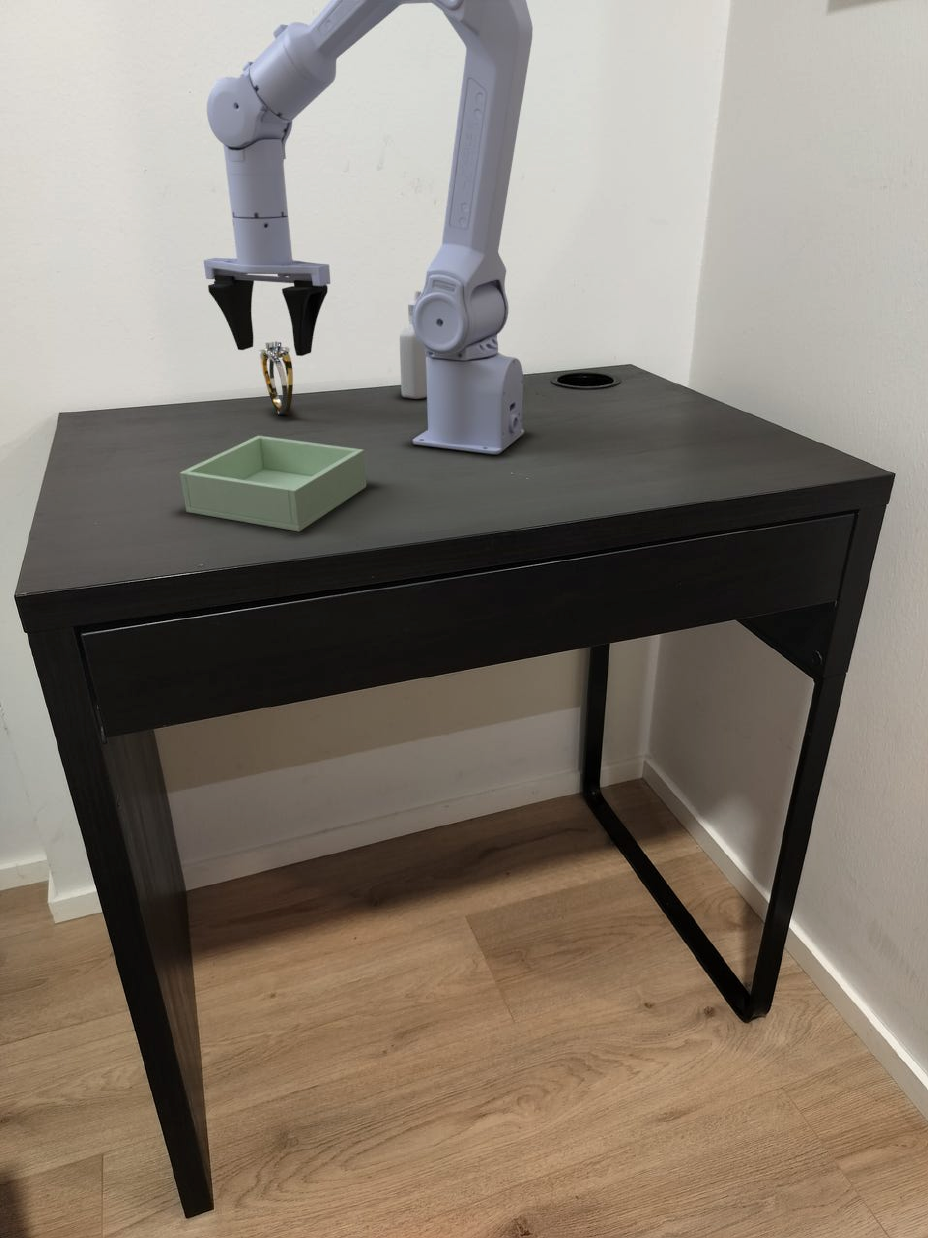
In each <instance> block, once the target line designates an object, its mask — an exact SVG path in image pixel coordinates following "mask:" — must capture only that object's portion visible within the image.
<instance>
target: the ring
mask: <svg viewBox="0 0 928 1238" xmlns="http://www.w3.org/2000/svg"><path fill="white" fill-rule="evenodd" d="M264 345H265V348H260V349H258V350H259V352H260V353H259V360H260V366H261V370H262V374H263V378H264V382H265V385H266V389H267V391H268V395H269V398H270V400H271V403H272V405H273V407H274V410H275V411H276V415H278V416H281V415H286V414H287V413H289V412H290V409H291V405H292V401H293V400H292V399H293V391H294V390H293V386H294V384H293V383H294V373H293V363H292V359H291V355H290V350H291V349H290V347H288V346H282V342H281V341H271V342H265V344H264ZM281 360H282V361H281ZM282 362H283V363H282ZM274 365H275V366H274ZM274 367H276V369H277V372H278V375H279V378H280V384H281V393H282V398H281V399H282V400H281V399H280V397H279V394H278V391H277V386H276V381H275V371H274V370H275V369H274ZM284 368H285V369H284ZM285 371H286V373H285Z"/></svg>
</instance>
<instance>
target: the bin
mask: <svg viewBox="0 0 928 1238" xmlns="http://www.w3.org/2000/svg"><path fill="white" fill-rule="evenodd" d="M179 477H180V482H181V483H180V484H181V488H182V495H183V500H184V506H185V512H186V513H190V514H196V515H201V516H208V517H212V518H218V519H225V520H230V521H236V522H242V523H247V524H253V525H259V526H263V527H264V526H265V527H271V528H276V529H281V530H288V531H293V532H301V531H302V530H304V529H306V528H307V527H308V526H310V525H311V524H313V523H314V522H316V521H317V520H320V519H321V518H322V517H324V516H325V515H326V514H328V513H329V512H331V511H333V510H334V509H335V508H337V507H339V506H340V505H342V504H343V503H344V502H346V501H347V500H349V499H350V498H352V497H353V496H355V495H356V494H358V493H359V492H361V491H363V490H364V489H365V488H367V478H366V477H367V475H366V460H365V450H364V449H362V448H355V447H347V446H339V445H331V444H323V443H317V442H310V441H309V442H308V441H302V440H294V439H286V438H280V437H272V436H264V435H257V436H255V437H252V438H250V439H248V440H246V441H244V442H242V443H240V444H237V445H235V446H233V447H231V448H229V449H227V450H225V451H222V452H220V453H218V454H216V455H214V456H212V457H210V458H208V459H206V460H203V461H201V462H199V463H197V464H195V465H193V466H191V467H189V468H187V469H185V470H182V471H181V472H179Z"/></svg>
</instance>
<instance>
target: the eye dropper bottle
mask: <svg viewBox="0 0 928 1238" xmlns="http://www.w3.org/2000/svg"><path fill="white" fill-rule="evenodd" d="M421 293H422V291H421V290H414V295H413V299H412V301H410V302H409V303H407V317H408V318H407V319H408V322H409V323H408V324H407V325H406V326H404V328H403V329H402V330H401V332H400V334H399V361H400V362H399V363H400V364H399V365H400V387H401V388H400V390H401V396H402V397H403V398H405V399H411V400H420V399H421V400H422V399H427V376H426V356H425V348H424V347H423V346H422V344H421V343H420V342H419V340H418V339H417V337H416V335H415V332H414V329H413V323H412V314H413V309H414V305H415V303H416V301H417V299H418V298H419V296H420V295H421Z"/></svg>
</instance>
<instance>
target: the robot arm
mask: <svg viewBox="0 0 928 1238" xmlns="http://www.w3.org/2000/svg"><path fill="white" fill-rule="evenodd" d="M408 4H409V5H411V4H432V5H434V6H435V7H436V8H438V9H439V10H440V11H441V12H443V15H444V16H445V17H446V19H447V21H448V22H449V23H450V25H451V27H452V28H453V30H454V31H455V33H457V35H458V37H459V38H460V39H461V42H463V44H464V46H465V58H464V66H463V72H462V74H463V75H462V81H461V90H460V97H459V106H458V112H457V119H456V120H457V121H456V129H455V136H454V144H453V153H452V160H451V169H450V175H449V183H448V190H447V191H448V192H447V201H446V206H445V207H446V208H445V216H444V222H443V223H444V224H443V230H442V231H443V232H442V239H441V245H440V247H439V249H438V251H437V252H436V254H435V256H434V258H433V259H432V261H431V262H430V264H429V266H428V268H427V270H426V274H425V281H424V286H423V289H422V291H421V295H420V296H419V298H418V299H417V301H416V303H415V305H414V309H413V314H412V323H413V329H414V332H415V335H416V337H417V339H418V340H419V342H420V343H421V344H422V346H423V347H424V348H425V356H426V376H427V397H426V410H427V413H426V415H427V429H426V430H425V431H424V432H422V433H420V434H419V435H417V436H416V437H414V438H413V439H412V444H414V445H417V446H423V447H432V448H440V449H449V450H456V451H463V452H464V451H465V452H471V453H478V454H479V453H480V454H486V455H500V454H501V453H502V452H503V451H504V450H506V449H507V448H508V447H510V445H512V444H513V443H514V442H515V441H517V440H518V439H519V438H520V437H522V436H523V435H524V434H525V430H524V429H523V401H524V400H523V398H524V397H523V395H524V393H523V392H524V372H523V366H522V362H521V361H520V359H518V358H516V357H514V356H507V355H504V354H502V353H500V352H499V342H498V334H500V332H502V330H503V329H504V328H505V325H506V324H507V321H508V317H509V316H508V315H509V309H510V307H509V301H508V297H507V294H506V288H505V282H506V275H507V269H506V268H507V267H506V266H505V264H504V262H503V260H502V258H501V256H500V254H499V248H500V244H501V243H500V242H501V236H502V230H503V224H504V223H503V222H504V217H505V213H506V212H505V211H506V204H507V199H508V194H509V193H508V192H509V186H510V180H511V173H512V167H513V160H514V154H515V149H516V142H517V136H518V129H519V124H520V117H521V112H522V104H523V98H524V92H525V88H526V87H525V86H526V79H527V73H528V68H529V61H530V55H531V50H532V49H531V48H532V42H533V23H532V17H531V14H530V10H529V6H528V3H527V0H330V1H329V2H328V3H327V4H326V5H325V6H324V8H323V9H322V10H321V11H320V12H319V14H318V15H317V16H316V17H315V19H314V20H313V21H312V22H311V23H310V24H307V23H304V22H298V21H293V22H291V23H289V24H283V23H281V24H279V26H277V27H276V28H275V30H274V31H273V32H272V33H273V34H272V35H273V37H274V40H273V41H272V42H271V43H270V44H269V45H268V46H267V48H265V49H264V50H263V52H262V53H260V55H258V57H257V58H256V59H255V60H254V61H247V62H246V64H244V65H243V66H242V71H243V73H241V74H240V75H239V76H237V77H233V76H223V77H220V78H218V79H217V80H216V81H215V83H214V85H213V87H212V88H211V90H210V92H209V93H208V97H207V101H206V116H207V117H206V118H207V121H208V122H207V123H208V124H209V127H210V130H211V132H212V133H213V135H214V136H215V138H216V139H217V140H218V141H219V142H220V143H222V145H223V153H224V163H225V169H226V178H227V185H228V194H229V195H228V196H229V203H230V213H231V219H232V220H231V221H232V228H233V237H234V245H235V254H236V258H229V257H227V258H221V257H212V258H207V259H203V266H204V267H203V268H204V274H205V279H206V280H214V281H213V283H212V284H208V285H207V290H208V293H209V295H210V296H211V297H212V298H213V300H214V301H215V303H216V304H217V305H218V307H219V309H220V310H221V312H222V315H223V316H224V318H225V320H226V323H227V325H228V327H229V329H230V332H231V334H232V337H233V340H234V342H235V345H236V348H237V350H238V351H245V350H248V349H251V348H253V347H254V337H255V336H254V328H253V318H252V304H253V303H252V302H253V292H254V285H255V282H268V283H281V284H283V283H284V284H293V285H290V286H287V287H282V288H281V292H282V296H283V298H284V301H285V304H286V308H287V311H288V314H289V320H290V323H291V330H292V340H293V341H292V342H293V348H294V352H295V355H296V356H297V357H303V356H306V355H308V354H309V355H310V354H311V353H312V348H313V341H314V334H315V330H316V329H315V328H316V325H317V322H318V321H317V320H318V317H319V314H320V311H321V308H322V306H323V303H324V300H325V298H326V296H327V294H328V290H329V289H328V288H329V287H328V285H331V271H330V264H329V263H316V262H310V261H302V260H294V258H293V253H292V241H291V230H290V219H289V210H288V197H287V186H286V175H285V160H287V156H286V144H287V141H288V139H289V138H290V137H289V136H290V135H291V132H292V128H293V120H295V119H296V118H297V116H298V115H300V114H301V113H302V112H303V111H304V110H305V109H306V108H307V107H308V106H309V105H310V104H311V103H313V102H314V101H315V100H316V99H317V98H318V97H319V96H320V95H321V94H322V93H323V92H324V91H326V89H328V88H329V87H330V86H331V85H332V84H333V83H334V82H335V80H336V77H337V76H336V75H337V59H338V58H339V57H340V56H342V55H343V54H344V53H346V52H347V50H349V49H350V48H351V47H352V46H354V45H355V44H356V43H357V42H358V41H359V40H361V39H362V38H363V37H364V36H365V35H367V34H368V33H370V31H372V30H373V29H374V28H375V27H376V26H377V25H378V24H380V23H381V22H382V21H384V19H386V18H387V17H389V15H390V14H391V13H393V12H394V11H395V10H396V9H398V8H399V7H400V6H402V5H408ZM276 275H277V276H276Z"/></svg>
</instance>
